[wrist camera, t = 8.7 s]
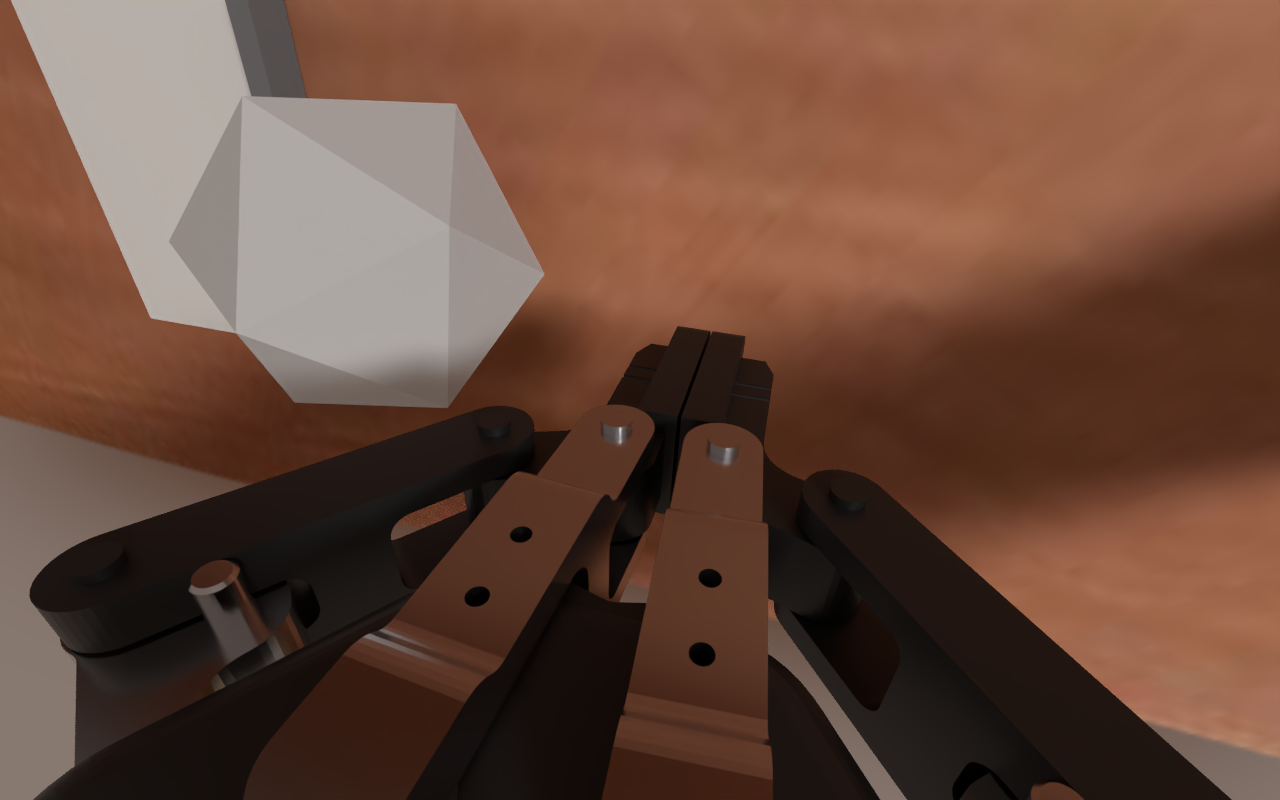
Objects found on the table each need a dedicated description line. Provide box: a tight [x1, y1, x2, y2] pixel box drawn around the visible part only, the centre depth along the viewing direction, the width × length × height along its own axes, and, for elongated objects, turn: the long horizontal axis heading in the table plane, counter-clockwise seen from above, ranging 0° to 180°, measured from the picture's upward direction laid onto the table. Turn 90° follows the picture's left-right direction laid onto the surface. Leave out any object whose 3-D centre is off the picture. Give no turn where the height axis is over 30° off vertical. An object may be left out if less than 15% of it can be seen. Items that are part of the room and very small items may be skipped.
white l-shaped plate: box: [11, 0, 306, 333], centre depth 23 cm, size 11×13×2 cm
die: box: [169, 96, 544, 408], centre depth 17 cm, size 8×9×10 cm
